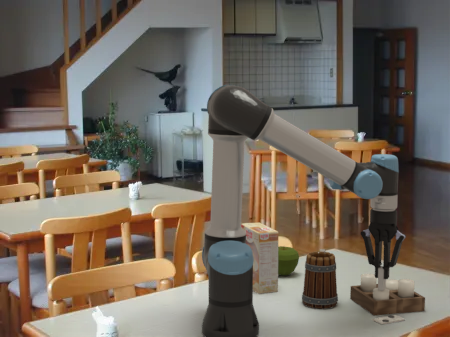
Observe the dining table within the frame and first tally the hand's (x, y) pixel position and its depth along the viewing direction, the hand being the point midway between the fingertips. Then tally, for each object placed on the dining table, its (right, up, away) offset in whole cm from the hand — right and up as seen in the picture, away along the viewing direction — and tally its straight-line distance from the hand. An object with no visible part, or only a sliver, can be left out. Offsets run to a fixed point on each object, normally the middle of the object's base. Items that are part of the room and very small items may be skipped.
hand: (381, 289), depth 213 cm
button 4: (+8, -3, +2) cm, 8 cm away
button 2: (0, -5, +1) cm, 5 cm away
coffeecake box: (-34, -3, +24) cm, 42 cm away
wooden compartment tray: (+3, -6, +6) cm, 8 cm away
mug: (-17, -5, +9) cm, 19 cm away
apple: (-25, -1, +38) cm, 45 cm away
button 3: (+5, -4, +10) cm, 13 cm away
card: (0, -7, -8) cm, 11 cm away
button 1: (-2, -2, +8) cm, 9 cm away
